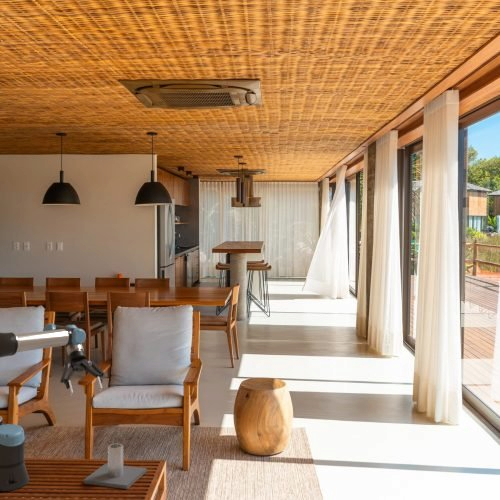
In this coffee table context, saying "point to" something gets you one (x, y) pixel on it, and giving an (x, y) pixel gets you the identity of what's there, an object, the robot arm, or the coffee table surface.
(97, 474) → the post plate
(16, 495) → the coffee table surface
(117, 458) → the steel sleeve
